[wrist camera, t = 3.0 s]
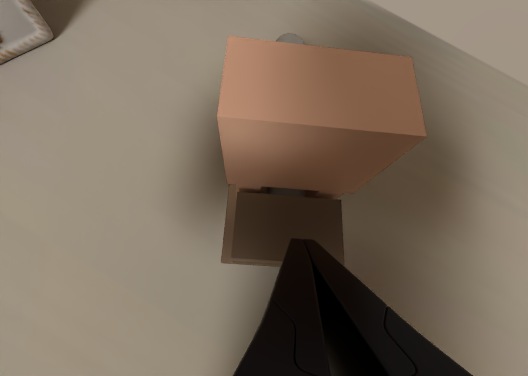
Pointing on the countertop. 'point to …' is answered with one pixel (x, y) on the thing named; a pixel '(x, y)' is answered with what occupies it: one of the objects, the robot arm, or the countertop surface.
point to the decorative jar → (21, 28)
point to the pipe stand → (278, 220)
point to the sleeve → (314, 116)
